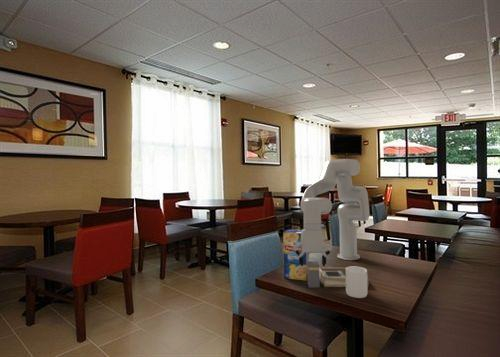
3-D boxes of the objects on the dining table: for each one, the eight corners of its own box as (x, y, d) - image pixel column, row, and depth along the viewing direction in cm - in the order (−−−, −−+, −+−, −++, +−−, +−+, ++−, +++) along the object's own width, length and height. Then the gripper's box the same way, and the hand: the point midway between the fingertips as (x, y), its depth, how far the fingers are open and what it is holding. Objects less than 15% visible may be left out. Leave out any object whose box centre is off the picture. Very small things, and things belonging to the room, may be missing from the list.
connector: (307, 283, 133) (307, 261, 133) (317, 283, 133) (317, 261, 133) (309, 287, 129) (308, 264, 129) (319, 287, 128) (319, 264, 128)
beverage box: (306, 280, 137) (305, 233, 136) (283, 277, 141) (283, 232, 141) (309, 275, 143) (308, 230, 143) (287, 273, 147) (287, 229, 147)
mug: (345, 286, 129) (345, 262, 129) (366, 288, 126) (365, 264, 126) (346, 297, 118) (345, 271, 117) (368, 299, 115) (367, 273, 115)
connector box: (318, 275, 143) (318, 267, 143) (358, 275, 142) (357, 267, 142) (324, 287, 129) (324, 277, 129) (368, 286, 128) (368, 277, 128)
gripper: (329, 225, 134) (330, 263, 134) (291, 225, 135) (292, 263, 134) (333, 228, 126) (334, 268, 126) (293, 228, 127) (293, 267, 127)
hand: (312, 265), depth 130 cm, fingers open, 9 cm apart
